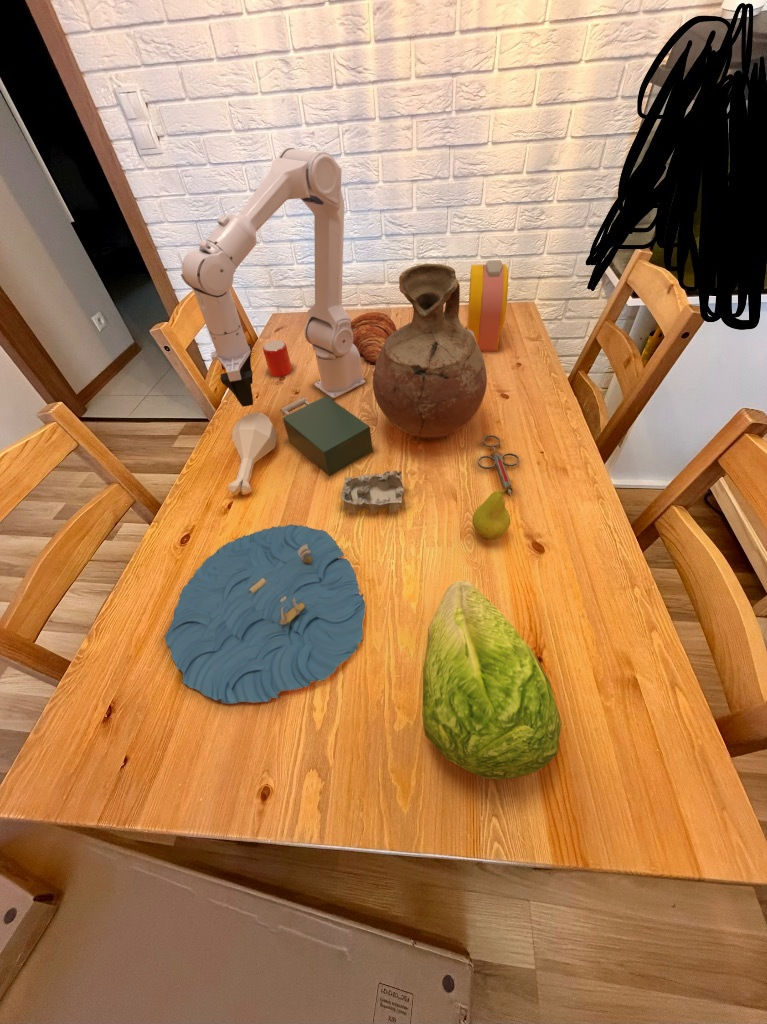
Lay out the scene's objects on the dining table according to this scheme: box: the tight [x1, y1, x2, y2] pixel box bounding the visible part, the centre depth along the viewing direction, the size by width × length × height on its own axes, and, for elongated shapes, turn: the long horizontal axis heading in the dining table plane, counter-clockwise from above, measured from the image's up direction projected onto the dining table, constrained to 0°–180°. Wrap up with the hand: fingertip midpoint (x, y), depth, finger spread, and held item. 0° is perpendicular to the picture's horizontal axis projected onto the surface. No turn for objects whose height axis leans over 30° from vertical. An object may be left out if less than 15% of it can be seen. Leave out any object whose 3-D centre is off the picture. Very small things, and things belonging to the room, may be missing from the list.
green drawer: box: [279, 396, 311, 416], centre depth 93 cm, size 18×9×4 cm, turn 40°
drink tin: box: [262, 339, 293, 378], centre depth 112 cm, size 6×6×7 cm
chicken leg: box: [227, 411, 278, 496], centre depth 88 cm, size 8×18×8 cm, turn 175°
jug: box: [372, 263, 488, 440], centre depth 84 cm, size 22×22×30 cm
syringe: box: [477, 434, 520, 499], centre depth 85 cm, size 8×18×2 cm, turn 4°
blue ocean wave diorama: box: [164, 524, 366, 704], centre depth 67 cm, size 30×30×5 cm
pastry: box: [351, 311, 397, 364], centre depth 117 cm, size 17×15×8 cm
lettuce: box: [421, 579, 563, 781], centre depth 55 cm, size 15×24×14 cm, turn 3°
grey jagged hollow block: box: [340, 470, 405, 515], centre depth 81 cm, size 11×8×4 cm
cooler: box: [282, 395, 374, 477], centre depth 91 cm, size 15×11×6 cm
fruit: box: [471, 484, 512, 541], centre depth 71 cm, size 6×6×12 cm
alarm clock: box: [466, 259, 509, 352], centre depth 111 cm, size 15×8×18 cm, turn 173°
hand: (247, 393), depth 91 cm, fingers open, 7 cm apart
